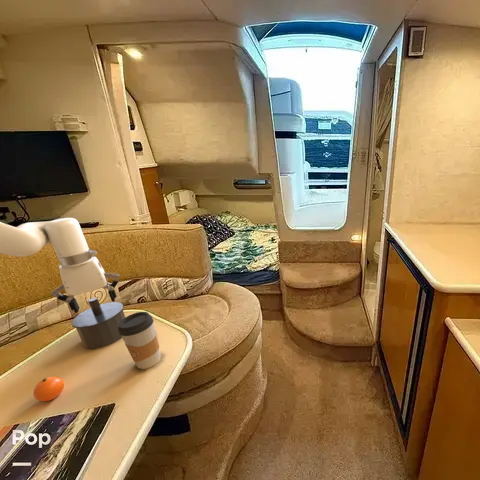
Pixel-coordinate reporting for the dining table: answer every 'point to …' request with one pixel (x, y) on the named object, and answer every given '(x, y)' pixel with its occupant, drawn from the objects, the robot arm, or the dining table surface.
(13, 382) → the dining table surface
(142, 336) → the coffee cup
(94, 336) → the pot
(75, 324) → the lid
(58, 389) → the orange
